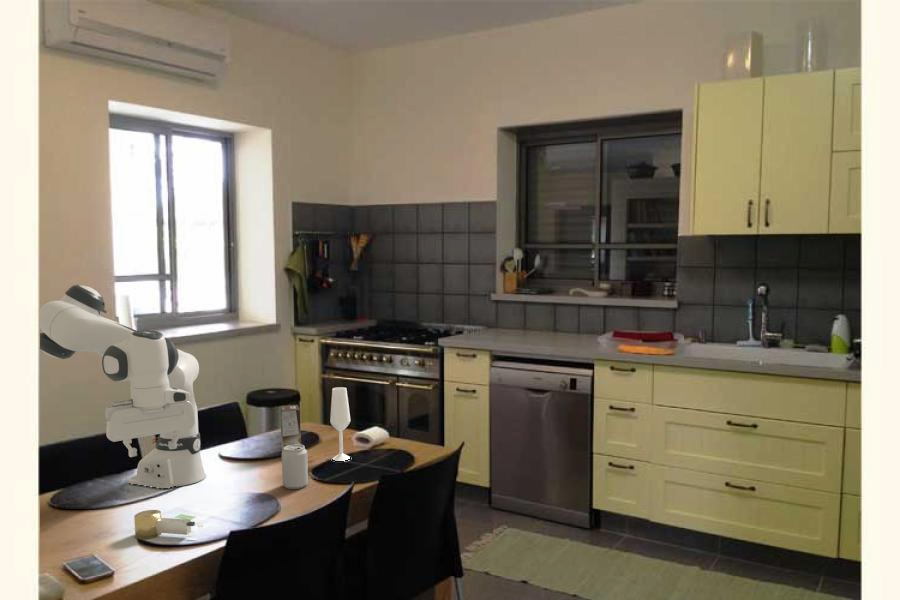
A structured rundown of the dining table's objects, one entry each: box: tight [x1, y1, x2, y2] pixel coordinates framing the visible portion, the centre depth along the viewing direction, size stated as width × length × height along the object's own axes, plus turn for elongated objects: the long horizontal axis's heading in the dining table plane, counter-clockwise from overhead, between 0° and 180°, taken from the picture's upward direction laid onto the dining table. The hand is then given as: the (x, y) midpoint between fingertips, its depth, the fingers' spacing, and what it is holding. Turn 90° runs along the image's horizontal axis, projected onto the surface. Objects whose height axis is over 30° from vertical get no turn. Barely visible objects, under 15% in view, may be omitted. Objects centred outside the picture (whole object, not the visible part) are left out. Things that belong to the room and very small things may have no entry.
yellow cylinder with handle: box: [133, 509, 196, 540], centre depth 168 cm, size 15×6×5 cm, turn 78°
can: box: [281, 444, 309, 490], centre depth 207 cm, size 8×8×12 cm
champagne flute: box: [329, 386, 351, 462], centre depth 233 cm, size 7×7×24 cm
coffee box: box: [279, 404, 302, 453], centre depth 241 cm, size 9×6×16 cm
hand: (153, 452), depth 170 cm, fingers open, 8 cm apart
